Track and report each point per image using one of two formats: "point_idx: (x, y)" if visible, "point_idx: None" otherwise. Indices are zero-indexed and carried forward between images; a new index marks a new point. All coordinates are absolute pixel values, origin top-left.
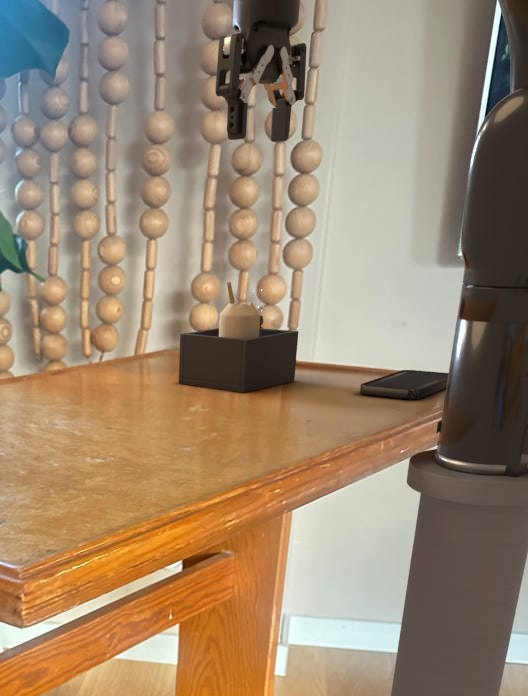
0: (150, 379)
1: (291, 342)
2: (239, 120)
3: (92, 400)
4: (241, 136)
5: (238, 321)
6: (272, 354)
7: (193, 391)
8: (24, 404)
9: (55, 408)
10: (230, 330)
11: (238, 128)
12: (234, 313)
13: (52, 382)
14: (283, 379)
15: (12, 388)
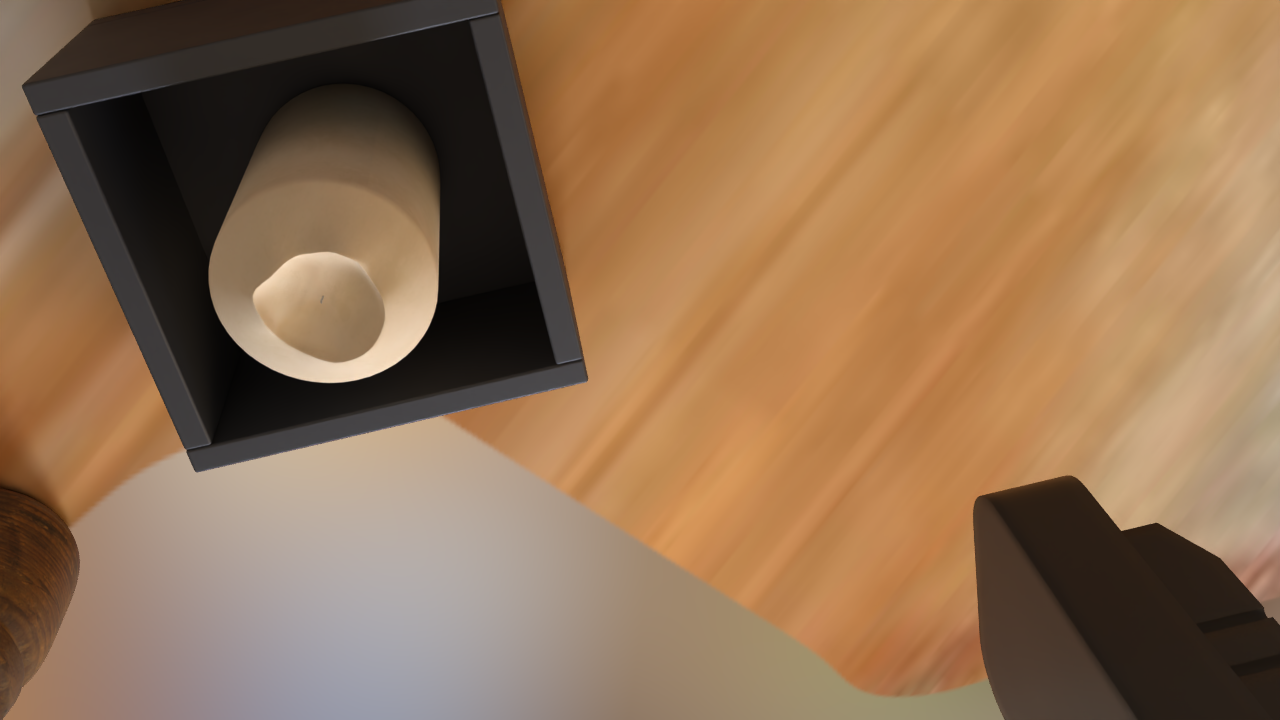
0: (593, 424)
1: (96, 57)
2: (1216, 648)
3: (1044, 187)
4: (1065, 484)
5: (399, 197)
6: (270, 8)
7: (632, 106)
8: (1248, 265)
9: (1235, 137)
10: (427, 210)
11: (1165, 566)
12: (409, 237)
13: (904, 558)
14: (181, 3)
15: None
